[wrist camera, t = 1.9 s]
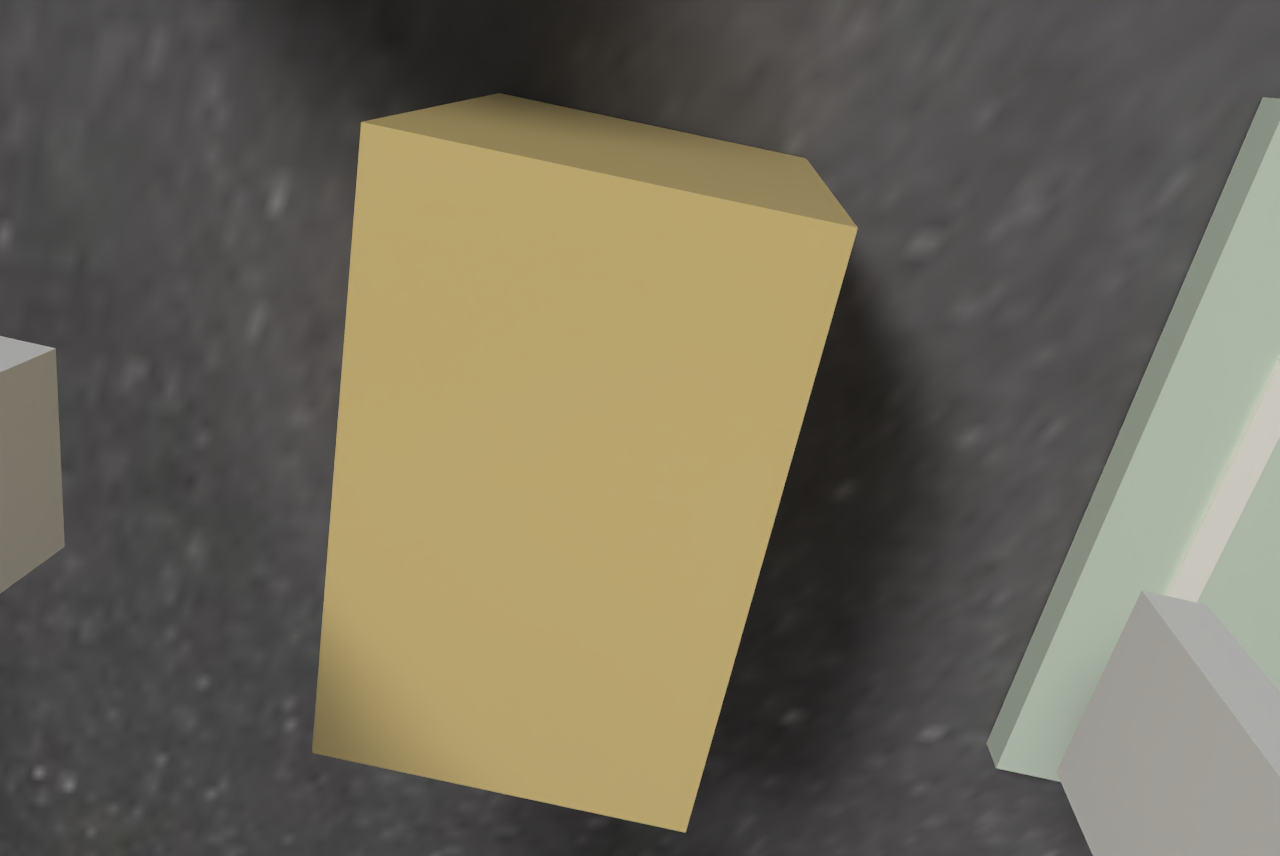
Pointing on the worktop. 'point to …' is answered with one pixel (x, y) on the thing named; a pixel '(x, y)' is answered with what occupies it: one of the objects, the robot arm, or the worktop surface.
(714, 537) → the tan yellow block
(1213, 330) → the board
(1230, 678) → the robot arm
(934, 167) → the worktop surface
